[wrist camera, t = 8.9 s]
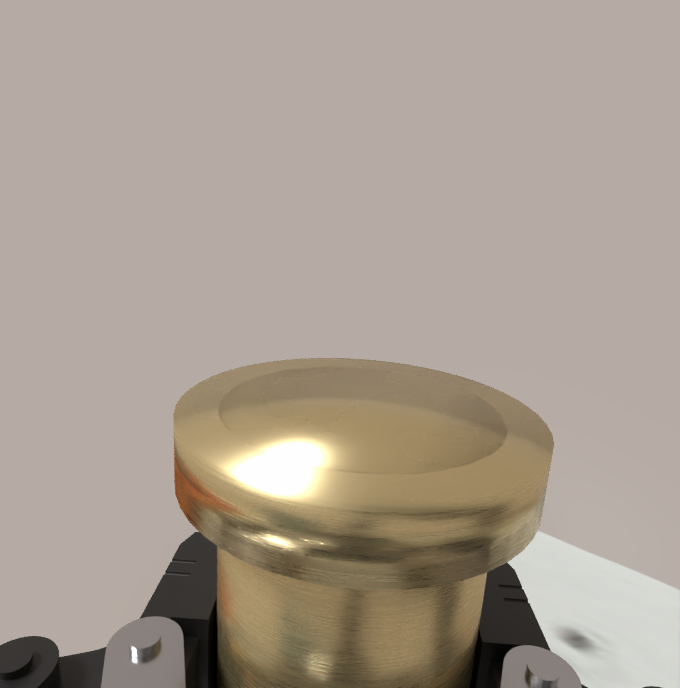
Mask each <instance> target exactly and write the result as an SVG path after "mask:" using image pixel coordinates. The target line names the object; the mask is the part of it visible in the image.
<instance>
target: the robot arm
mask: <svg viewBox="0 0 680 688" xmlns="http://www.w3.org/2000/svg"><path fill="white" fill-rule="evenodd" d="M216 685H217V545H215V544H214V543H212V542H211V541H210V540H208V539H207V538H206V537H204V536H203V535H202V534H201V533H200V532H195V533H194V534H193V535H191V536H190V537H189V538H188V539H186V540H185V541H184V542H183V543H181V545H180V546H179V548H178V550H177V551H176V553H175V555H174V557H173V559H172V562H171V563H170V564H169V566H168V568H167V570H166V573H165V575H163V577H162V579H161V581H160V583H159V584H158V586H157V588H156V590H155V592H154V594H153V595H152V597H151V599H150V601H149V603H148V605H147V606H146V609H145V610H144V612H143V614H142V616H141V617H140V619H138V620H135V621H133V622H131V623H129V624H127V625H125V626H124V627H122V628H121V629H120V630H118V631H117V632H116V633H115V634H114V635H113V636H112V638H111V639H110V641H109V643H108V645H107V647H105V648H102V649H99V650H95V651H90V652H85V653H80V654H75V655H69V656H64V657H59V650H58V647H57V646H56V644H55V643H54V642H53V641H52V640H50V639H48V638H45V637H39V636H29V637H23V638H18V639H15V640H12V641H9V642H7V643H4V644H3V645H0V688H216ZM470 688H587V687H585V686H584V685H582V684H581V682H580V679H579V677H578V675H577V674H576V672H575V671H574V670H573V668H572V667H571V666H570V665H569V664H568V663H567V662H566V661H565V660H563V659H562V658H561V657H559V656H558V655H556V654H555V653H553V652H551V651H550V648H549V646H548V644H547V642H546V639H545V637H544V635H543V633H542V630H541V628H540V626H539V624H538V621H537V619H536V617H535V615H534V613H533V610H532V608H531V606H530V604H529V603H528V599H527V597H526V595H525V592H524V590H523V589H522V586H521V583H520V581H519V579H518V577H517V574H516V572H515V570H514V569H513V568H512V567H511V566H510V565H509V564H508V563H505V564H503V565H501V566H499V567H497V568H495V569H493V570H491V571H489V572H487V577H486V583H485V590H484V597H483V604H482V610H481V617H480V624H479V630H478V637H477V644H476V651H475V657H474V664H473V671H472V678H471V684H470ZM643 688H661V687H653V686H650V687H643Z"/></svg>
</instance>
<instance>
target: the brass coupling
mask: <svg viewBox="0 0 680 688" xmlns="http://www.w3.org/2000/svg"><path fill="white" fill-rule="evenodd" d="M553 447H554V442H553V437H552V434H551V432H550V430H549V428H548V426H547V425H546V423H545V422H544V421H543V420H542V419H541V418H540V417H539V416H538V415H537V414H536V413H535V412H534V411H532V410H531V409H530V408H529V407H527V406H526V405H524V404H523V403H521V402H520V401H518V400H516V399H514V398H513V397H511V396H509V395H507V394H505V393H503V392H500V391H498V390H496V389H494V388H492V387H489V386H486V385H484V384H481V383H479V382H476V381H473V380H470V379H466V378H463V377H460V376H457V375H452V374H449V373H445V372H442V371H437V370H433V369H428V368H423V367H418V366H412V365H406V364H400V363H393V362H384V361H375V360H363V359H344V358H343V359H342V358H311V359H294V360H282V361H273V362H266V363H260V364H254V365H249V366H245V367H240V368H236V369H233V370H229V371H226V372H223V373H220V374H218V375H215V376H212V377H210V378H208V379H206V380H204V381H202V382H200V383H198V384H197V385H195V386H194V387H192V388H191V389H189V390H188V391H187V392H186V393H185V394H184V395H183V396H182V397H181V398H180V400H179V401H178V403H177V404H176V407H175V411H174V477H175V494H176V497H177V500H178V503H179V505H180V508H181V510H182V511H183V513H184V514H185V516H186V517H187V519H188V520H189V521H190V523H191V524H192V525H193V526H194V527H195V528H196V529H197V530H198V531H199V532H200V533H201V534H202V535H203V536H204V537H206V538H207V539H208V540H210V541H211V542H212V543H214V544H215V545H217V685H216V688H470V684H471V678H472V671H473V664H474V657H475V651H476V644H477V637H478V630H479V624H480V617H481V610H482V604H483V597H484V590H485V583H486V577H487V572H489V571H491V570H493V569H495V568H497V567H499V566H501V565H503V564H505V563H507V562H508V561H510V560H511V559H512V558H514V557H515V556H516V555H518V554H519V553H520V552H522V551H523V550H524V549H525V548H526V546H527V545H528V544H529V543H530V542H531V541H532V540H533V538H534V536H535V534H536V532H537V530H538V528H539V526H540V522H541V516H542V510H543V505H544V499H545V493H546V488H547V482H548V476H549V470H550V465H551V459H552V453H553Z"/></svg>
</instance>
